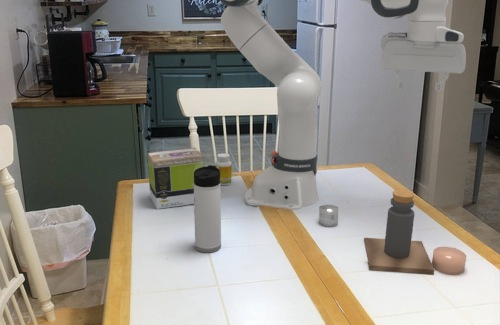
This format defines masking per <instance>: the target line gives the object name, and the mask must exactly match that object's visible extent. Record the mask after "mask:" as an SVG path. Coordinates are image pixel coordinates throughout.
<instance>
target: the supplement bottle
mask: <svg viewBox="0 0 500 325" xmlns="http://www.w3.org/2000/svg"><path fill="white" fill-rule="evenodd" d="M230 156H231V155H230V154H228V153H218V154H217V156H216V159H217V160H216V161H215V162H214V164H215V165H214V166H216V168H218V169H219V170H220V183H221V184H220V186H229V185H231V183H232V181H233V180H232V177H233V176H232V173H233V172H232V168H233V166H232V165H233V164H232V161H231V160H230V159H231V158H230Z"/></svg>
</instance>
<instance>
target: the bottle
mask: <svg viewBox="0 0 500 325" xmlns="http://www.w3.org/2000/svg"><path fill="white" fill-rule="evenodd" d="M414 196H415V193H414V192H413V191H410V190H406V189H395V190H393V191H392V197H391V199H390V205H392V206H391V207H389V208H388V210H387V217H386V229H385V237H384V239H385V246H384V252H385V253H386V254H387V255H389V256H391V257H395V258H405V257H408V256H409V254H410V247H411V241H412V237H413V229H414V221H415V211H414V210H413V209H412V208H414V206H415V201H414Z"/></svg>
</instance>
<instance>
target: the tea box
mask: <svg viewBox="0 0 500 325" xmlns="http://www.w3.org/2000/svg"><path fill="white" fill-rule="evenodd" d="M147 164H148V165H147V166H148V180H149V181H148V182H149V194H150V199H151V200H152V202H153V204H154V206H155V209H156V210H158V209H159V210H160V209H168V208H174V207H175V208H176V207H182V206H187V205H188V206H189V205H190V206H191V205H194V171H195V170H196V169H198V168H201V167H206V166H205V156H204V154H202V153H201V152H200V151H199V150H198V149H197V148H196V147H191V148H180V149H172V150H171V149H170V150H163V151H161V150H160V151H155V152H154V151H152V152H151V151H150V152H147Z"/></svg>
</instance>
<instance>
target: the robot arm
mask: <svg viewBox="0 0 500 325" xmlns="http://www.w3.org/2000/svg"><path fill="white" fill-rule="evenodd" d="M219 1H220V2H221V3H222V4H223V5H225V6H227V7H226V8H225V9H224V11H223V12H222V14H221V17H220V24H221V27H222V29H223V30H224V31H225V34H226V35H227V37H228V38H229V40H231V42H232V43H233V45H234V46H235V47H236V49H237V50H238V51H239V52H240V53H241V54H242V55H243V57H244V58H245V59H246V60H247V61H248V62H249V63H250V65H252V67H254V68H255V70H256V71H257V72H258V73H259V74H261V75H262V76H264V77H265V78H266V79H267V80H269V81H270V82H271V83H272V84H274V86H276V87H277V89H276V98H277V99H276V100H277V118H278V129H279V130H278V131H279V132H278V151H276V150H273V151H271V154H270V157H271V161H270V162H271V165H270V166H268V167H267V168H265V169H264V170H262V171H261V172H259V173H258V174H256V175H255V177H254V180H253V181H252V182H253V183H252V186H251V187H249V188H248V189H247V190H246V191H245V194H244V202H245V203H246V204H247V205H248V206H254V207H258V206H264V207H272V208H280V209H285V210H293V211H294V210H295V211H296V210H300V209H302V208H304V207H309V206H313V205H315V204H317V203H318V202H319V201H320V196H319V193H318V185H317V172H318V164H319V163H318V162H319V161H318V154H317V146H318V129H319V128H318V99H319V95H320V94H321V91H322V80H321V77H320V76H319V74H318V73H317V72H316V71H315V70H314V68H312V67H311V66H310V65H309V64H308V63H307V62H306V61H305V60H304V59H303V58H302V57H301V55H299V54H298V53H297V52H296V51H295V50H293V49H292V48H291V47H290V46H289V44H287V43H286V42H285V40H284V38H282V37H281V35H279V34H278V33H277V32H276V30H275V29H274V28H273V27H272V25H271V24H270V23H269V22H268V21H267V20H266V19H265V18H264V16H262V14H261V13H260V11H259V8H258V6H260V5H261V4H262V2H263V1H264V0H219ZM360 1H361V2H365V3H367V4H370V5H371V8H372V9H373V10H374V12H375V13H376V14H377V15H378V16H380V17H381V18H384V19H389V20H391V19H394V20H396V19H400V18H403V17H405V16H407V17H408V18H407V19H408V20H407V26H406V28H407V29H406V32H393V31H392V32H388V33H386V34H383V36H382V38H381V39H380V48H381V50H382V54H381V58H380V68H381V69H382V70H383V71H393V77H394V78H395V80H396V89H398V90H399V89H404V80H400V77H399V76H400V74H401V73H400V71H401V72H402V71H403V72H421V73H424V72H425V73H429V72H430V73H441V76H442V79H441V80H440V81H439V82H435V91H437V92H438V91H439V92H440V91H441V92H442V91H443V85H444V84H445V83H446V81H447V80H448V79H449V78H450V77H449V76H450V74H462V73H463V72H465V70H466V65H467V64H466V63H467V53H466V47H465V45H464V44H462V42H463V41H464V39H465V35H464V33H462V32H461V31H457V30H454V29H453V28H452V27H451V28H450V27H449V28H448V27H447V26H446V24H447V16H446V11H447V7H448V5H449V3H450V2H449V0H360Z"/></svg>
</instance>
